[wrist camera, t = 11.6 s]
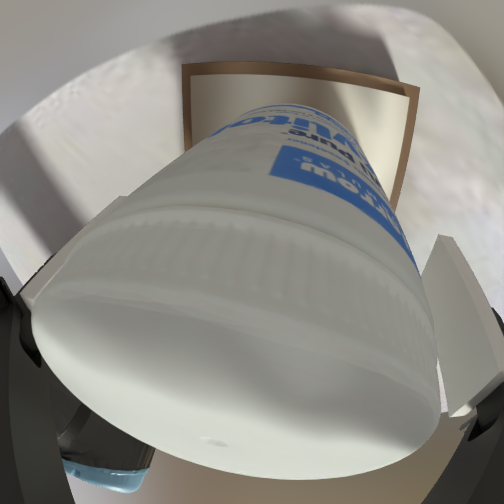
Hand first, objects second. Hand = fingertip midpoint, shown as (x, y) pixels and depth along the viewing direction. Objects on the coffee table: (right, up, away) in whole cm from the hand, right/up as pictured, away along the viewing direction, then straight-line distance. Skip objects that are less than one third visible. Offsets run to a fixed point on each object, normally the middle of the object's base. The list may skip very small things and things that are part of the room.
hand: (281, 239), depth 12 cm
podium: (+2, +6, +9) cm, 11 cm away
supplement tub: (+1, +4, +5) cm, 7 cm away
